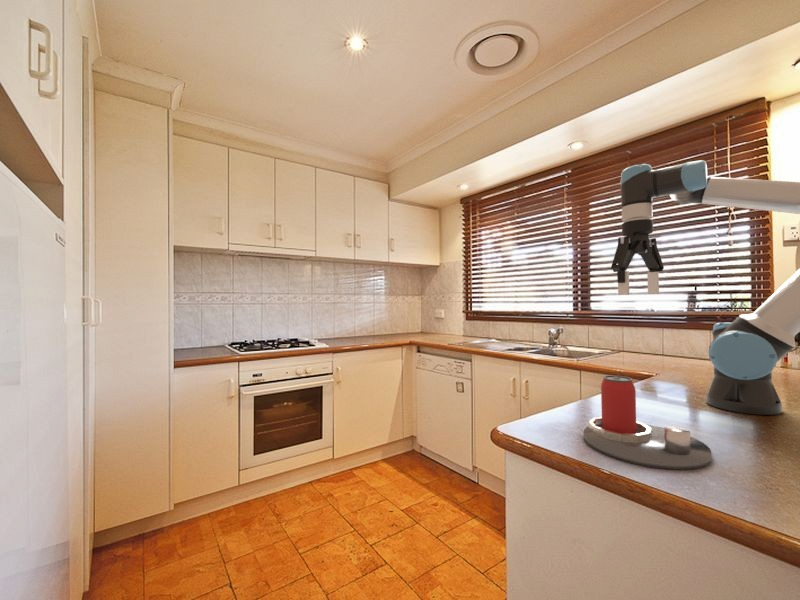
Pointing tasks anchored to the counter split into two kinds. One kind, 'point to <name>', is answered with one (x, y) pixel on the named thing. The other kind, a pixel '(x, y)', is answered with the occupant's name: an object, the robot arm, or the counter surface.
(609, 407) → the beer can
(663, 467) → the carrier plate
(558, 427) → the counter surface
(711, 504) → the counter surface
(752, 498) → the counter surface
